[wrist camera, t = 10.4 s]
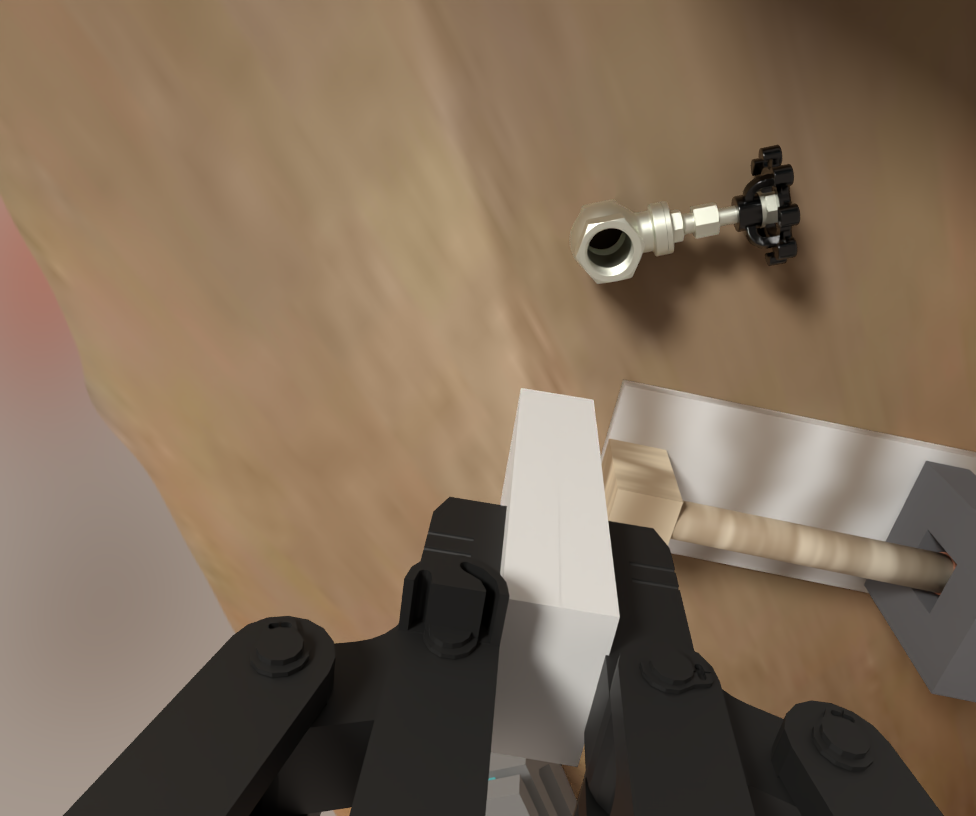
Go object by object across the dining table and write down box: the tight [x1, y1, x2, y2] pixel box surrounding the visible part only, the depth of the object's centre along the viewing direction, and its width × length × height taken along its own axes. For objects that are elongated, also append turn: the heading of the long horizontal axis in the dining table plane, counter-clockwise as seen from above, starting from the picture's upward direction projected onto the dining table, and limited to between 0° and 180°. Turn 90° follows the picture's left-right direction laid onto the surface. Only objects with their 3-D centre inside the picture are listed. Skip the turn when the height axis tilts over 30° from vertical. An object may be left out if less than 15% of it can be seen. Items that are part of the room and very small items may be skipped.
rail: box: [601, 380, 976, 595], centre depth 50 cm, size 32×12×8 cm, turn 79°
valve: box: [570, 145, 800, 284], centre depth 43 cm, size 7×7×12 cm
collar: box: [864, 461, 976, 702], centre depth 47 cm, size 3×10×10 cm, turn 169°
